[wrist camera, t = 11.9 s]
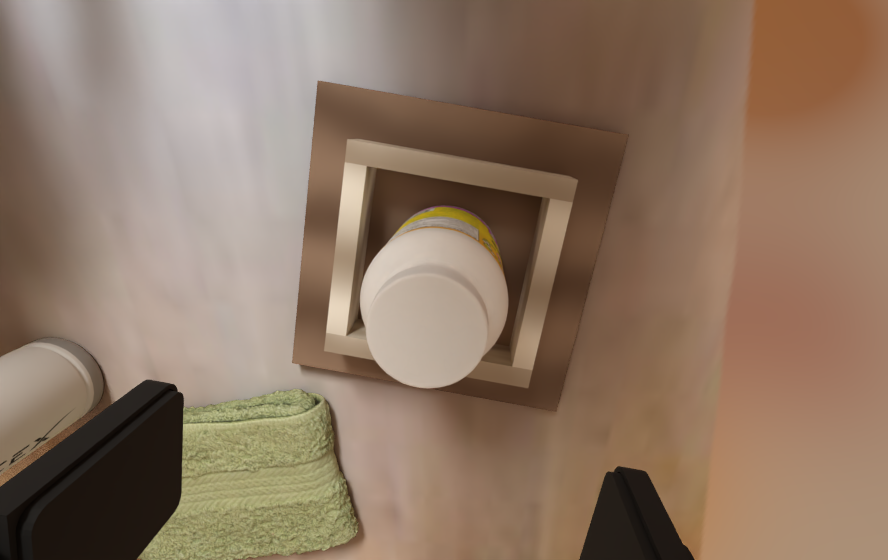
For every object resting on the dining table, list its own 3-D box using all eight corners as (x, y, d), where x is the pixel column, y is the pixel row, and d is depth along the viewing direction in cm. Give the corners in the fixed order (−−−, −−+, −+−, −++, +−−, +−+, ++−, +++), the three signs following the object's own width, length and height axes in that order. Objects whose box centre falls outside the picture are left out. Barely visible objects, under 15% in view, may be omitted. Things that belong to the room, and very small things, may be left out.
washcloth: (102, 408, 38) (68, 433, 35) (328, 377, 36) (314, 400, 33) (158, 551, 41) (132, 584, 38) (368, 529, 39) (359, 563, 36)
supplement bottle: (485, 317, 32) (490, 430, 20) (384, 294, 32) (326, 393, 20) (511, 215, 30) (534, 271, 18) (404, 191, 30) (353, 230, 18)
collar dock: (323, 82, 30) (300, 74, 26) (623, 134, 30) (645, 134, 26) (297, 356, 35) (274, 383, 31) (554, 403, 35) (563, 437, 31)
